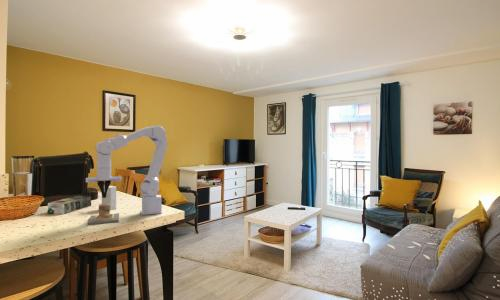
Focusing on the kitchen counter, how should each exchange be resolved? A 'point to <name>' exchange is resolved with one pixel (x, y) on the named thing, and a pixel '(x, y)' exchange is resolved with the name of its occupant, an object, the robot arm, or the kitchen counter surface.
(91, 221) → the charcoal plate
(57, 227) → the kitchen counter surface
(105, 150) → the robot arm
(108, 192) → the skincare box
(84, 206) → the juice carton
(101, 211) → the tan wooden block
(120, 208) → the kitchen counter surface
